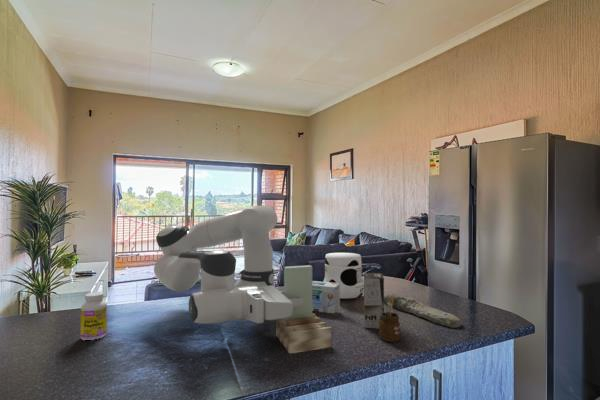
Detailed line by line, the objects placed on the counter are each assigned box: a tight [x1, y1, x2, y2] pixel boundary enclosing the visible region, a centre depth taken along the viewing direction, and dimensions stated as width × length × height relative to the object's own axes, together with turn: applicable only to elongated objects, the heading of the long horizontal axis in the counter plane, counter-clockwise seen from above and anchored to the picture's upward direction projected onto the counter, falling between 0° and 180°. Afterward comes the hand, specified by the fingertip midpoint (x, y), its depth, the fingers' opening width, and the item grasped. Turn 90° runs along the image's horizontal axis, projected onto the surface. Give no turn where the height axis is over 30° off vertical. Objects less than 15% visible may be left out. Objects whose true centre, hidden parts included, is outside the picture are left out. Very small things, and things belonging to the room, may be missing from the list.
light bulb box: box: [312, 280, 341, 314], centre depth 122 cm, size 11×7×11 cm, turn 68°
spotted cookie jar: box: [322, 252, 364, 301], centre depth 143 cm, size 17×17×18 cm
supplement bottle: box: [80, 291, 108, 341], centre depth 100 cm, size 7×7×13 cm
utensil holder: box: [378, 295, 401, 343], centre depth 99 cm, size 6×6×12 cm
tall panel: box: [283, 264, 313, 322], centre depth 98 cm, size 8×2×20 cm, turn 110°
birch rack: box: [275, 313, 333, 354], centre depth 94 cm, size 12×13×6 cm
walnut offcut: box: [286, 315, 320, 327], centre depth 94 cm, size 9×2×6 cm, turn 110°
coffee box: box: [363, 272, 385, 330], centre depth 112 cm, size 9×6×16 cm
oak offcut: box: [294, 325, 321, 331], centre depth 90 cm, size 7×2×5 cm, turn 110°
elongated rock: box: [384, 293, 462, 329], centre depth 123 cm, size 35×5×10 cm
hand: (297, 297), depth 98 cm, fingers open, 5 cm apart
